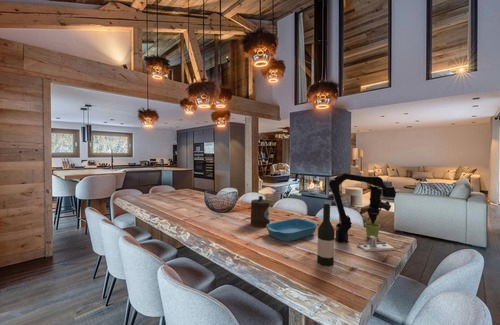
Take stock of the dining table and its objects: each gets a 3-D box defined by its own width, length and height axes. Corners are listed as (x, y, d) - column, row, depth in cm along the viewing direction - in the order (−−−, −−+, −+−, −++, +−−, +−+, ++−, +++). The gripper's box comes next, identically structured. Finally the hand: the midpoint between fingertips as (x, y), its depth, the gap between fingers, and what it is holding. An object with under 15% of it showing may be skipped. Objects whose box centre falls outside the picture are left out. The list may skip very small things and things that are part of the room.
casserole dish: (282, 246, 138) (283, 234, 138) (259, 235, 156) (260, 224, 156) (322, 234, 159) (323, 224, 159) (298, 226, 178) (298, 216, 177)
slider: (372, 247, 134) (372, 238, 134) (368, 244, 138) (368, 236, 138) (377, 246, 134) (377, 238, 134) (373, 244, 138) (373, 235, 138)
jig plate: (365, 251, 132) (365, 247, 131) (357, 245, 139) (357, 242, 139) (394, 250, 134) (394, 246, 134) (384, 244, 142) (385, 241, 142)
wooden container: (270, 227, 173) (271, 197, 172) (250, 227, 173) (250, 197, 172) (269, 221, 188) (269, 194, 187) (250, 221, 188) (251, 194, 187)
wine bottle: (330, 259, 121) (332, 201, 120) (337, 266, 113) (338, 204, 112) (314, 259, 121) (315, 201, 120) (319, 266, 112) (321, 204, 112)
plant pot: (371, 240, 148) (372, 227, 148) (360, 235, 157) (361, 223, 157) (383, 239, 150) (384, 226, 150) (372, 234, 160) (372, 222, 159)
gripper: (389, 201, 131) (388, 228, 132) (391, 196, 147) (390, 221, 147) (367, 198, 137) (366, 224, 138) (371, 194, 153) (370, 218, 153)
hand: (373, 222), depth 144 cm, fingers open, 9 cm apart
